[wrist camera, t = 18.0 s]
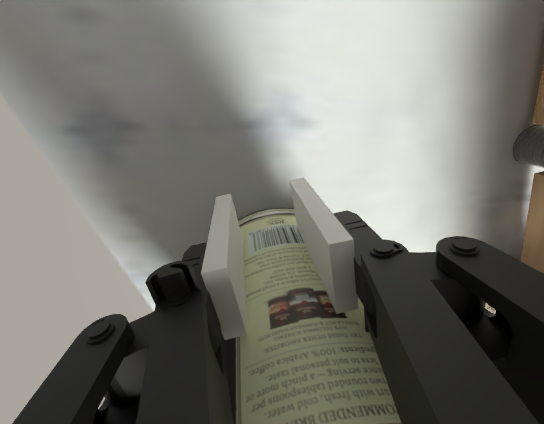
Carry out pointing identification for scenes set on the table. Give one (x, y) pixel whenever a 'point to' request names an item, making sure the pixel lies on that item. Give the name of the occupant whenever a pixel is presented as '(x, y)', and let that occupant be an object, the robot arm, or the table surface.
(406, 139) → the table surface
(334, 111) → the table surface
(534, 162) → the gate posts
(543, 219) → the gate
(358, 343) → the coffee can
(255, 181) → the table surface
